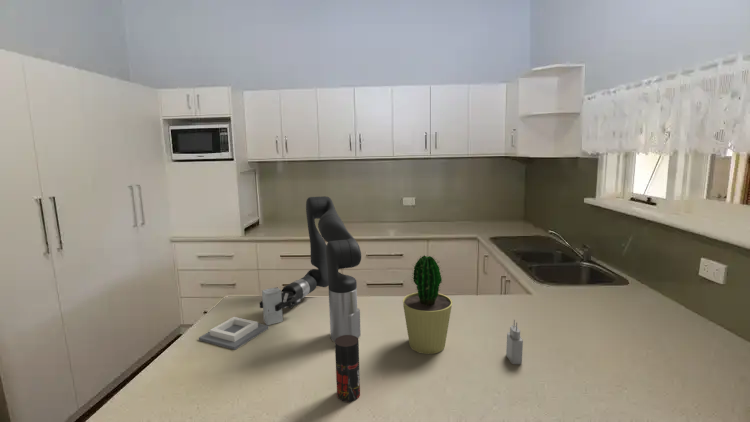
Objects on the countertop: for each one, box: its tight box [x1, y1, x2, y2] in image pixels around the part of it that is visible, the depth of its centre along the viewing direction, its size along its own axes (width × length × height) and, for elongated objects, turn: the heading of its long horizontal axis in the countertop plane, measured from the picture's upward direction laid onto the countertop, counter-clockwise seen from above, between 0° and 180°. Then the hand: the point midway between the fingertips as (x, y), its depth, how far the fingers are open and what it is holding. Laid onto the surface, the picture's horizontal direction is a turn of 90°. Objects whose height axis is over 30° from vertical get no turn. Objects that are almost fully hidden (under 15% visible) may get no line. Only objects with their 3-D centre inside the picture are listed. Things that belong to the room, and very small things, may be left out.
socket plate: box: [198, 316, 270, 351], centre depth 132 cm, size 16×16×3 cm
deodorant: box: [334, 335, 361, 403], centre depth 98 cm, size 6×6×15 cm
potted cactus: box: [402, 254, 453, 355], centre depth 121 cm, size 15×15×30 cm
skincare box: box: [261, 286, 284, 326], centre depth 141 cm, size 6×4×12 cm
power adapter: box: [505, 319, 524, 365], centre depth 113 cm, size 3×5×12 cm, turn 1°
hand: (268, 307), depth 139 cm, fingers closed on skincare box, 6 cm apart
